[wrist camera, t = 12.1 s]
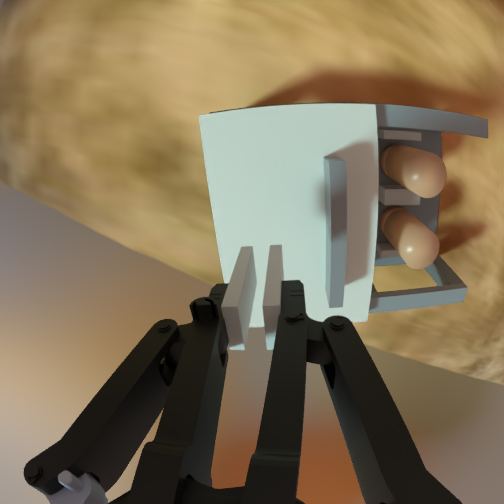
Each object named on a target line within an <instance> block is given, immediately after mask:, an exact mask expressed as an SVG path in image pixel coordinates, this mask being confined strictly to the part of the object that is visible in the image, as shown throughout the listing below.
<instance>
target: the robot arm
mask: <svg viewBox="0 0 504 504" xmlns="http://www.w3.org/2000/svg"><path fill="white" fill-rule="evenodd" d="M256 285H257V278H256V269H255V261H254V252H253V246H244V247H241V249H240V252H239V255H238V258H237V261H236V263H235V266H234V269H233V272H232V275H231V278H230V281H229V283H223V284H216V285H215V286H214V287H213V288H212V289H211V292H210V295H209V297H202V298H198V299H196V300H194V301H193V302H191V304H190V309H191V313H192V317H193V321H192V323H188V324H184V325H179V326H178V325H177V322H176V321H174V320H172V319H164V320H160V321H158V322H157V323H155V324H154V325H153V327H152V328H151V329H150V330H149V331H148V332H147V334H146V335H145V336H144V337H143V338H142V339H141V341H140V342H139V343H138V344H137V345H136V347H135V348H134V349H133V350H132V351H131V352H130V354H129V355H128V356H127V357H126V359H125V360H124V361H123V362H122V363H121V365H120V366H119V367H118V368H117V369H116V371H115V372H114V373H113V374H112V376H111V377H110V378H109V379H108V380H107V382H106V383H105V384H104V385H103V387H102V388H101V389H100V390H99V392H98V393H97V394H96V395H95V396H94V398H93V399H92V400H91V401H90V403H89V404H88V405H87V407H86V408H85V409H84V410H83V412H82V413H81V414H80V415H79V417H78V418H77V419H76V420H75V422H74V423H73V424H72V426H71V427H70V428H69V430H68V431H67V432H66V433H65V435H64V436H63V437H62V439H61V440H59V441H58V442H57V443H55V444H54V445H52V446H51V447H49V448H48V449H46V450H45V451H43V452H42V453H40V454H39V455H37V456H36V457H34V458H33V459H31V460H30V461H29V462H28V463H27V464H26V466H25V468H24V477H25V480H26V481H27V483H28V484H29V485H31V486H32V487H34V488H35V489H37V490H38V491H40V492H42V493H43V494H45V495H46V497H47V499H48V500H49V502H50V504H107V503H108V499H107V498H106V496H105V492H107V491H108V490H109V489H110V488H111V487H112V486H113V485H114V484H115V483H116V482H117V480H118V479H119V478H120V476H121V475H122V473H123V471H124V470H125V469H126V467H127V466H128V464H129V462H130V461H131V459H132V457H133V456H134V454H135V453H136V451H137V450H138V448H139V446H140V445H141V443H142V442H143V440H144V438H145V437H146V435H147V434H148V432H149V430H150V429H151V427H152V426H153V424H154V422H155V421H156V419H157V418H158V416H159V414H160V413H161V411H162V410H163V412H162V416H161V419H160V423H159V426H158V429H157V432H156V436H155V438H154V440H153V441H152V442H147V443H146V444H145V445H144V448H143V450H142V453H141V456H140V459H139V463H138V466H137V469H136V473H135V476H134V480H133V483H132V487H131V490H130V491H128V492H126V493H125V494H123V495H122V496H120V497H118V498H116V499H115V500H113V501H111V502H109V503H108V504H305V503H304V502H302V501H300V500H299V499H297V498H296V494H297V486H298V475H299V466H300V456H301V445H302V432H303V418H304V403H305V384H306V362H311V363H315V364H320V367H321V370H322V373H323V376H324V378H325V381H326V384H327V387H328V390H329V393H330V396H331V399H332V402H333V405H334V407H335V411H336V414H337V417H338V420H339V423H340V426H341V429H342V432H343V435H344V438H345V441H346V444H347V447H348V450H349V454H350V457H351V460H352V463H353V466H354V469H355V472H356V475H357V479H358V482H359V485H360V488H361V492H362V495H363V497H364V500H365V503H366V504H462V503H461V501H459V500H458V499H457V498H456V497H455V496H454V495H453V494H452V493H451V492H450V491H449V490H447V489H446V488H445V487H444V486H443V485H442V484H441V483H440V482H439V481H438V480H437V479H436V478H435V477H433V476H432V475H431V474H430V473H429V472H428V471H427V470H426V468H425V466H424V464H423V462H422V459H421V457H420V455H419V453H418V451H417V448H416V446H415V444H414V442H413V440H412V438H411V435H410V433H409V431H408V429H407V427H406V425H405V423H404V421H403V419H402V417H401V415H400V413H399V411H398V409H397V407H396V405H395V403H394V401H393V399H392V397H391V395H390V393H389V391H388V389H387V387H386V385H385V383H384V381H383V379H382V377H381V375H380V373H379V371H378V370H377V368H376V366H375V364H374V362H373V360H372V358H371V356H370V355H369V353H368V351H367V349H366V347H365V345H364V344H363V342H362V340H361V338H360V336H359V334H358V333H357V331H356V329H355V327H354V326H353V324H352V322H351V321H350V320H349V319H348V318H346V317H344V316H340V315H335V316H330V317H328V318H326V319H325V320H324V322H320V321H316V320H313V319H311V318H310V317H308V315H307V313H306V306H305V294H304V284H303V283H302V282H301V281H300V280H286V281H284V270H283V255H282V244H281V245H270V249H269V257H268V265H267V273H266V281H265V289H264V296H263V304H262V308H263V317H264V327H265V336H266V345H267V350H273V355H272V361H271V368H270V374H269V380H268V386H267V392H266V397H265V403H264V408H263V414H262V420H261V425H260V430H259V436H258V441H257V446H256V450H255V453H254V454H253V455H252V457H251V460H250V464H249V469H248V473H247V478H246V482H245V486H242V487H235V488H225V489H215V488H212V479H211V467H212V460H213V453H214V446H215V440H216V433H217V427H218V420H219V413H220V407H221V400H222V394H223V387H224V381H225V375H226V368H227V362H228V352H227V346H228V343H229V347H230V350H245V347H246V341H247V336H248V330H249V325H250V319H251V313H252V308H253V302H254V297H255V291H256ZM162 359H163V360H162ZM161 360H162V361H161ZM163 408H164V409H163Z"/></svg>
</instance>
